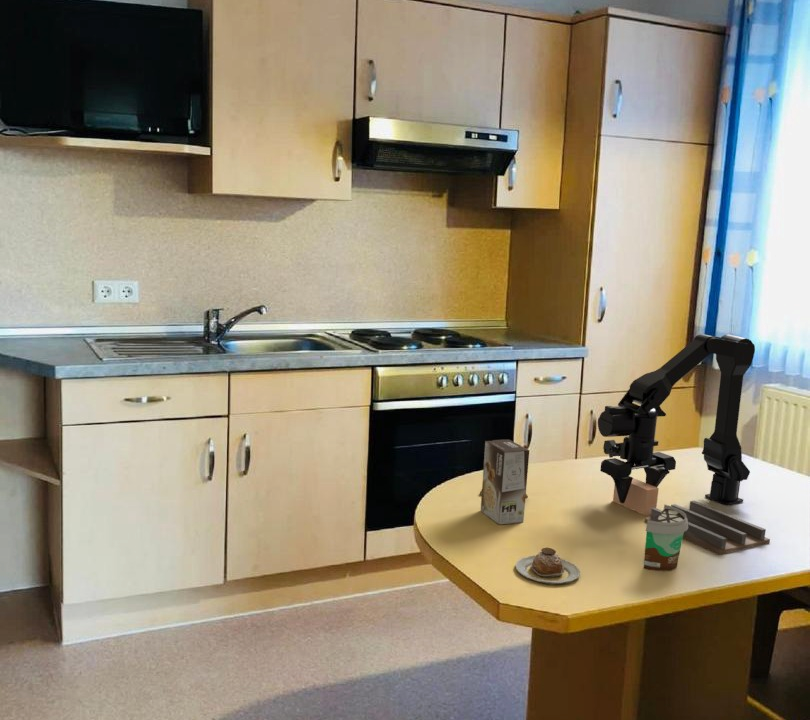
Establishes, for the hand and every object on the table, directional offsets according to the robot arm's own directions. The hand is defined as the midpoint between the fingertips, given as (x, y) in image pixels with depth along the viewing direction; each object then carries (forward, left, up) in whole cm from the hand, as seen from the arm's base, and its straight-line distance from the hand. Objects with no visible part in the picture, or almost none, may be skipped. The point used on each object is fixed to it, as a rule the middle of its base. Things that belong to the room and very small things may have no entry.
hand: (634, 500), depth 203 cm
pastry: (+43, +20, -2) cm, 47 cm away
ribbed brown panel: (-3, +18, -2) cm, 18 cm away
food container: (+19, +27, -2) cm, 33 cm away
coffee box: (+33, -7, -2) cm, 34 cm away
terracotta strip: (0, 0, -2) cm, 2 cm away
